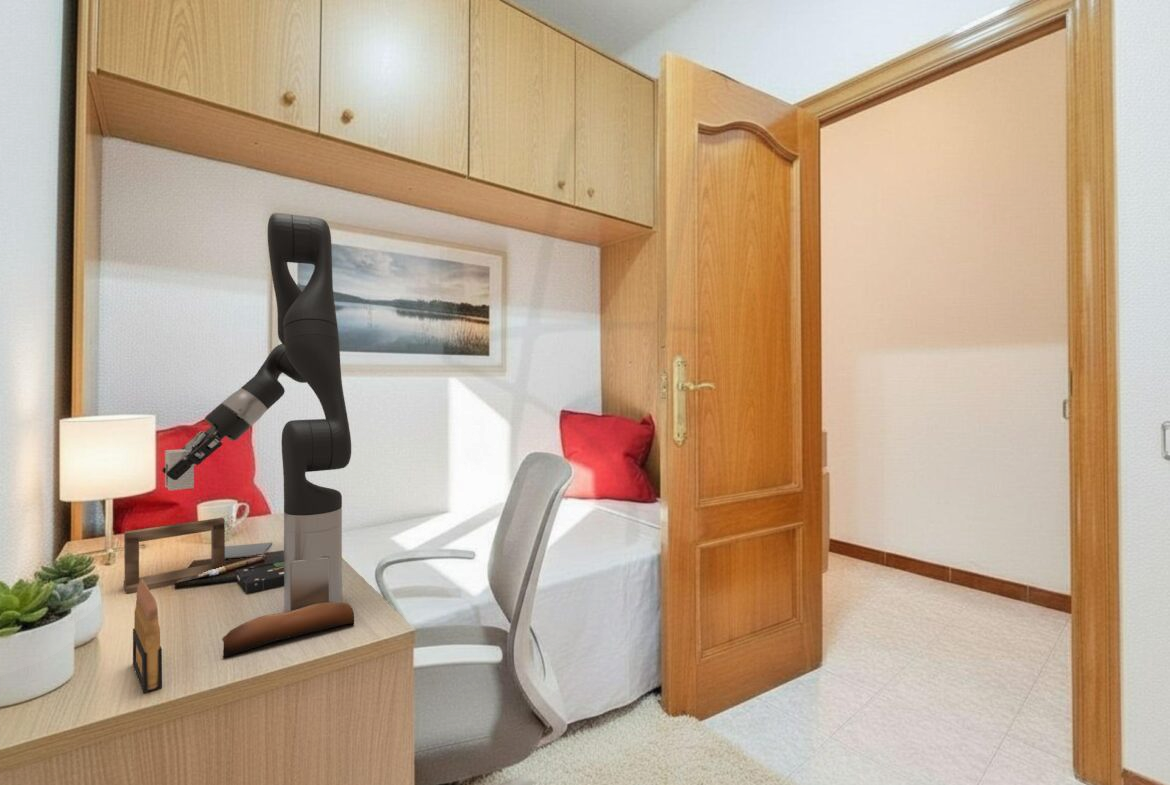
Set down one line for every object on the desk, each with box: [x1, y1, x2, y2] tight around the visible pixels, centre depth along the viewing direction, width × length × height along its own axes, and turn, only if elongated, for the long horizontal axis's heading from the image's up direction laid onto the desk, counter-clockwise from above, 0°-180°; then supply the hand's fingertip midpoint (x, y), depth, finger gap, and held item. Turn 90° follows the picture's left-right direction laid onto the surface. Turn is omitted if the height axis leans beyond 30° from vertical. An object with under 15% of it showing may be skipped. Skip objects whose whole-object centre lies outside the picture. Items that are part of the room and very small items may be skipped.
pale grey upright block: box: [164, 448, 195, 492], centre depth 109 cm, size 4×5×8 cm
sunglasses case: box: [221, 602, 355, 658], centre depth 85 cm, size 18×7×7 cm
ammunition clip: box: [132, 579, 163, 694], centre depth 72 cm, size 11×2×12 cm, turn 46°
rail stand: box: [123, 517, 226, 595], centre depth 108 cm, size 16×6×11 cm, turn 135°
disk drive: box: [235, 560, 284, 595], centre depth 109 cm, size 10×3×15 cm
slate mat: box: [225, 542, 273, 559], centre depth 126 cm, size 10×10×1 cm
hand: (168, 475), depth 108 cm, fingers closed on pale grey upright block, 5 cm apart
